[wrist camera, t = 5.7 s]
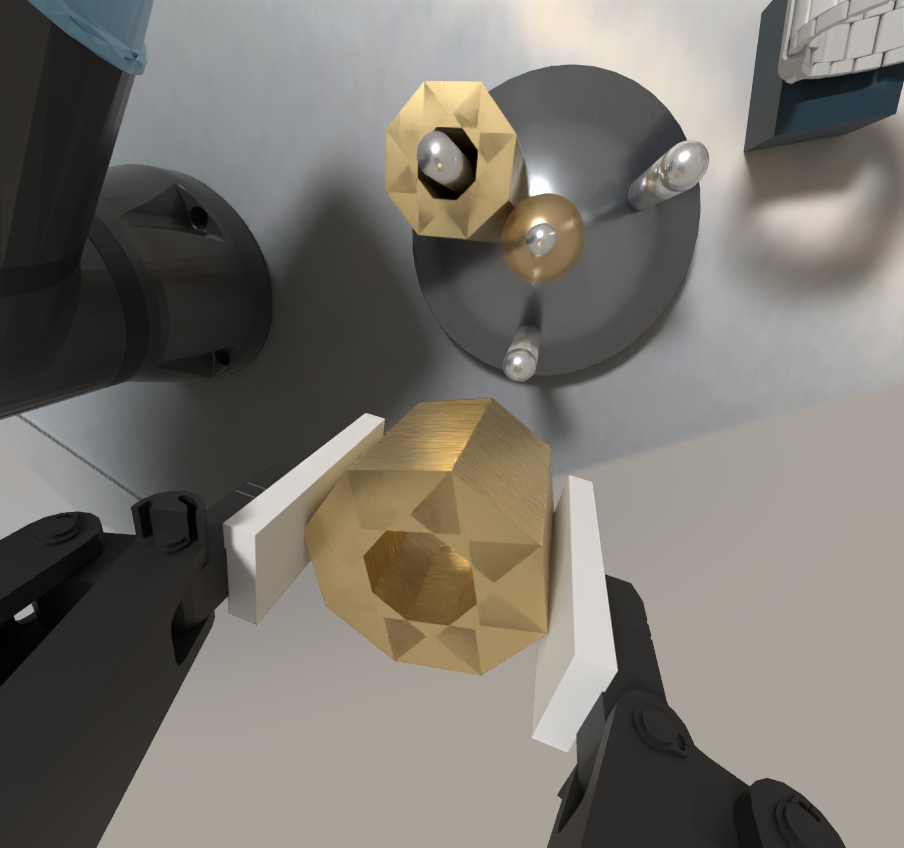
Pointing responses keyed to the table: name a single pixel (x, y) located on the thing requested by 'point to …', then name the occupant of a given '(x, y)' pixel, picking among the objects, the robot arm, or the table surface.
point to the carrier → (568, 225)
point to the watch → (824, 69)
